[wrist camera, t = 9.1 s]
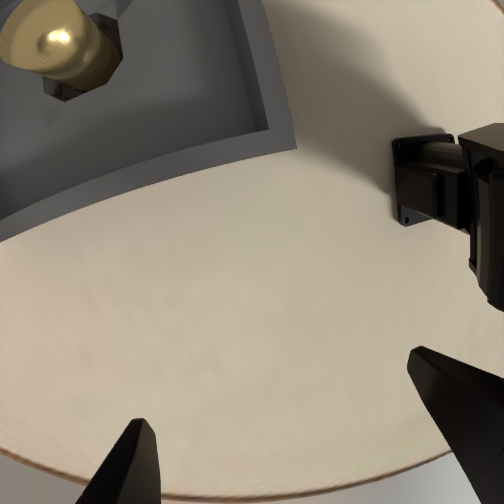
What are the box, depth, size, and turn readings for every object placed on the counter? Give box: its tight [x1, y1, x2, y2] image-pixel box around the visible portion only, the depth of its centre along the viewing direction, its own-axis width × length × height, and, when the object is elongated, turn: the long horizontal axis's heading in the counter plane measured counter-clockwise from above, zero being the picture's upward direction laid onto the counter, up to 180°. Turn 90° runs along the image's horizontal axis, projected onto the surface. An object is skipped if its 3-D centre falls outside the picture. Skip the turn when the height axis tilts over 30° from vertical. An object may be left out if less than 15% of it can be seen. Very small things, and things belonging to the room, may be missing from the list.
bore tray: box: [0, 0, 297, 242], centre depth 11 cm, size 18×16×6 cm
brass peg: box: [0, 0, 120, 91], centre depth 9 cm, size 3×3×8 cm
